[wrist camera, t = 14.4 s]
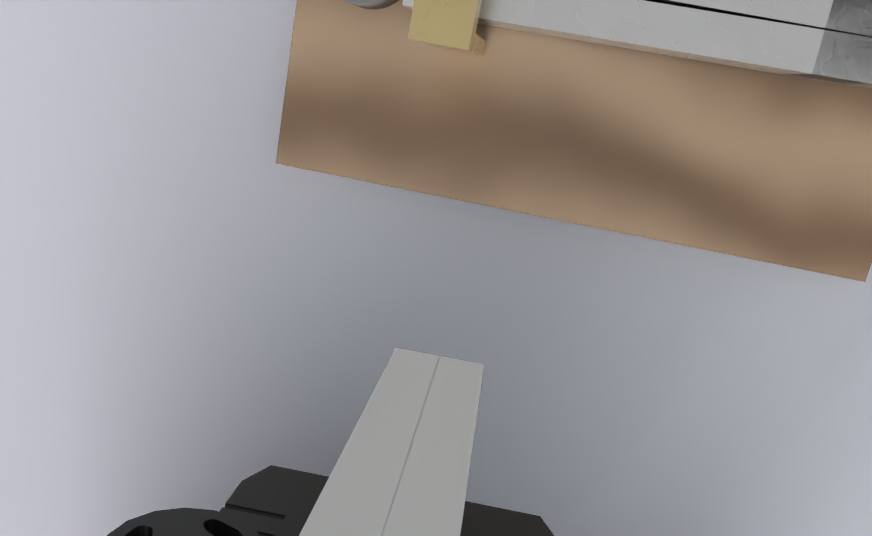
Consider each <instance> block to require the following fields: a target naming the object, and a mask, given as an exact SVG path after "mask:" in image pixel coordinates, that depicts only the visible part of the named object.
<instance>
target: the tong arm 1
mask: <svg viewBox="0 0 872 536" xmlns="http://www.w3.org/2000/svg"><path fill="white" fill-rule="evenodd" d="M413 4H414V0H403V3H402V5H403V6H405V7H407V8H409V9H410V10H413ZM478 24H484V25H490V26H496V27H502V28H508V29H514V30H520V31H526V32H532V33H538V34H543V35H549V36H555V37H561V38H567V39H573V40H579V41H585V42H591V43H597V44H603V45H609V46H615V47H621V48H627V49H633V50H639V51H645V52H651V53H657V54H663V55H669V56H674V57H680V58H686V59H692V60H698V61H704V62H710V63H716V64H722V65H728V66H734V67H740V68H746V69H752V70H758V71H764V72H770V73H776V74H782V75H788V76H794V77H799V78H805V79H811V80H817V81H823V82H829V83H835V84H841V85H847V86H853V87H872V38H871V37H865V36H859V35H853V34H847V33H841V32H834V31H828V30H822V29H816V28H810V27H804V26H798V25H792V24H785V23H779V22H773V21H767V20H761V19H755V18H749V17H743V16H736V15H730V14H724V13H718V12H712V11H706V10H700V9H693V8H687V7H681V6H675V5H669V4H663V3H657V2H651V1H644V0H482V3H481V8H480V13H479V19H478Z"/></svg>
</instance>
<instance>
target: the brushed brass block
mask: <svg viewBox="0 0 872 536" xmlns="http://www.w3.org/2000/svg"><path fill="white" fill-rule="evenodd" d="M481 3H482V0H414V4H413V10H412V16H411V22H410V28H409V34H408V39H410V40H414V41H417V42H421V43H424V44H428V45H431V46H435V47H439V48H444V49H449V50H455V51H460V52H465V53H471V54H476V55H481V56H483V55H484V50H485V45H486V41H485V40H484V39H483V38H481V37H480V36H479V35H477V34H476V29H477V24H478V19H479V13H480V8H481Z"/></svg>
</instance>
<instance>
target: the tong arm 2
mask: <svg viewBox="0 0 872 536" xmlns="http://www.w3.org/2000/svg"><path fill="white" fill-rule="evenodd" d="M644 1H651V2H657V3H663V4H669V5H675V6H681V7H687V8H693V9H700V10H706V11H712V12H718V13H724V14H730V15H736V16H743V17H749V18H755V19H761V20H767V21H773V22H779V23H785V24H792V25H798V26H804V27H810V28H816V29H822V30H828V31H834V32H841V33H847V34H853V35H859V36H865V37H871V38H872V0H644Z"/></svg>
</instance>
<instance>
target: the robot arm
mask: <svg viewBox="0 0 872 536" xmlns="http://www.w3.org/2000/svg"><path fill="white" fill-rule="evenodd" d="M483 371H484V364H481V363H476V362H470V361H465V360H460V359H454V358H449V357H444V356H438V355H433V354H428V353H423V352H417V351H412V350H407V349H401V348H395V350H394V352H393V354H392V356H391V358H390V359H389V361H388V363H387V365H386V367H385V369H384V371H383V373H382V375H381V377H380V379H379V381H378V383H377V385H376V387H375V389H374V391H373V393H372V395H371V396H370V398H369V400H368V402H367V404H366V406H365V408H364V410H363V412H362V414H361V416H360V418H359V420H358V422H357V424H356V426H355V428H354V430H353V431H352V433H351V435H350V437H349V439H348V441H347V443H346V445H345V447H344V449H343V451H342V453H341V455H340V457H339V459H338V461H337V463H336V465H335V467H334V468H333V470H332V472H331V474H330V476H329V477H327V476H322V475H317V474H312V473H307V472H302V471H297V470H292V469H287V468H282V467H277V466H272V465H271V466H269V467H267V468H265V469H263V470H262V471H260V472H258V473H256V474H254V475H252V476H250V477H249V478H247V479H245V480H243V481H242V482H241V483H240V484H239V486H238V487H237V488H236V490H235V491H234V493H233V494H232V495H231V497H230V498H229V499H228V501H227V502H226V504H225V508H222V509H221V510H220V512H217V511H214V510H203V509H192V508H179V509H170V510H161V511H154V512H151V513H148V514H145V515H142V516H140V517H137V518H134V519H131V520H128V521H126V522H125V523H124V524H122V525H121V526H119V527H118V528H116V529H115V530H114V531H112V532H111V533H109V534H108V535H107V536H554V535H553V534H552V532H551V531H550V530H549V528H548V527H547V525H546V524H545V523H544V521H543V520H542V518H541V517H540V516H536V515H531V514H526V513H521V512H516V511H511V510H506V509H501V508H496V507H491V506H486V505H481V504H476V503H471V502H466V501H465V498H466V491H467V484H468V477H469V470H470V463H471V456H472V449H473V442H474V435H475V428H476V421H477V414H478V407H479V399H480V392H481V385H482V378H483Z"/></svg>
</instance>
